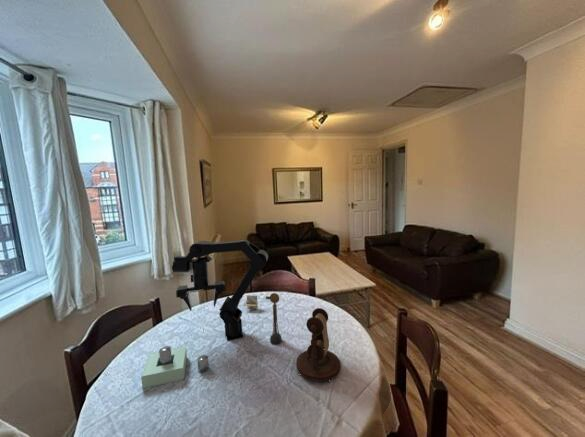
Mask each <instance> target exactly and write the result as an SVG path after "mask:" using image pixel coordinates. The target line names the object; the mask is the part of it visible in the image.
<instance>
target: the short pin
mask: <svg viewBox="0 0 585 437" xmlns="http://www.w3.org/2000/svg"><path fill="white" fill-rule="evenodd" d="M196 359H197V371H198V373H201V374H202V373H206V372H208V371H209V369H210V364H209V363H210V362H209V356H208V355H207V354H203V355H202V354H201V355H200V356H198V358H196Z"/></svg>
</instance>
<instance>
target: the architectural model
mask: <svg viewBox="0 0 585 437" xmlns="http://www.w3.org/2000/svg"><path fill="white" fill-rule="evenodd" d="M242 307H246V309H247V308H250V310H252V311H254V310H256V311H258V310H259V303H258V295H250V294H249V295H246V302H243V304H242Z"/></svg>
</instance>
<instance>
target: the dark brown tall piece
mask: <svg viewBox="0 0 585 437" xmlns="http://www.w3.org/2000/svg"><path fill="white" fill-rule="evenodd" d="M328 320H329V314H328V312H327V311H326V310H325V309H324V308H321V307H317V308H315V309H313V311H312V313H311V317H310V318H308V319H307V321H306V329H307V330H308V331H309V332H310V334H311V340H310V344H309V345H308V347H307V348H306V349H307V350H305V351H303V352H302V353H300V354H299V355H298V356H297V358H296V361H295V362H296V369H297V372H298V373H299V375H300V374H301V375H300V376H302V377H303V378H306V379H308V380H311V381H317V382H323V381H328V380H330V379H331V380H332V379H333V378H335V377H337V376H338V375H339V373H340V371H341V368H342V365H341V360H340V358H339V357H338V356H337V355H336V354H335V353H333V352H332V351H330V350H329V347H330V340H329V335H328V334H329V333H328V325H327V324H328V323H327V322H328Z"/></svg>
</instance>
